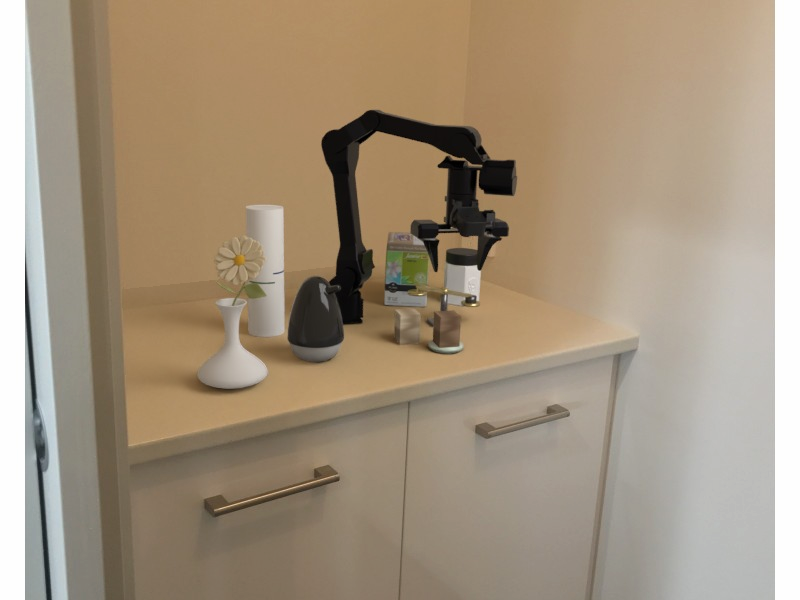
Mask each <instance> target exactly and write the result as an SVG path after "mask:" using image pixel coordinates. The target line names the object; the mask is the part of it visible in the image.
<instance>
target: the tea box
mask: <svg viewBox="0 0 800 600" xmlns="http://www.w3.org/2000/svg"><path fill="white" fill-rule="evenodd" d="M385 251H386V252H385V267H384V268H385V272H384V274H385V275H384V298H383V299H384V300H383V301H384V303H383V304H384V305H385V306H394V307H395V306H396V307H417V308H418V307H420V308H421V307H426V306H427V299H428V298H427V297H428V294H427V295H426V296H410V295H408V290H412V289H417V288H416V285H417V284H418V285H424V286H429V285H428V284H429V282H428V281H429V268H430V258H429V255H428V252H427V249H426V247H425V245H424V243H423V241H421V240H420V239H418V238H417V237H415V236H414V235H412V234H411V233H410V232H403V231H402V232H400V231H389V232H388V235H387V242H386V250H385ZM425 291H427V290H425ZM427 292H428V291H427Z"/></svg>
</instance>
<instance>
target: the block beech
mask: <svg viewBox="0 0 800 600" xmlns="http://www.w3.org/2000/svg"><path fill="white" fill-rule="evenodd" d="M421 317H422V316H421V313H420V312H419V311H418V310H417V309H416V308H404V309H403V308H399V309H395V310H394V331H393V332H394V333H393V334H394V335H393V339H394V341H396V343H397V344H398V345H399V346H405V345H420V341H421V340H420V338H421Z"/></svg>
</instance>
